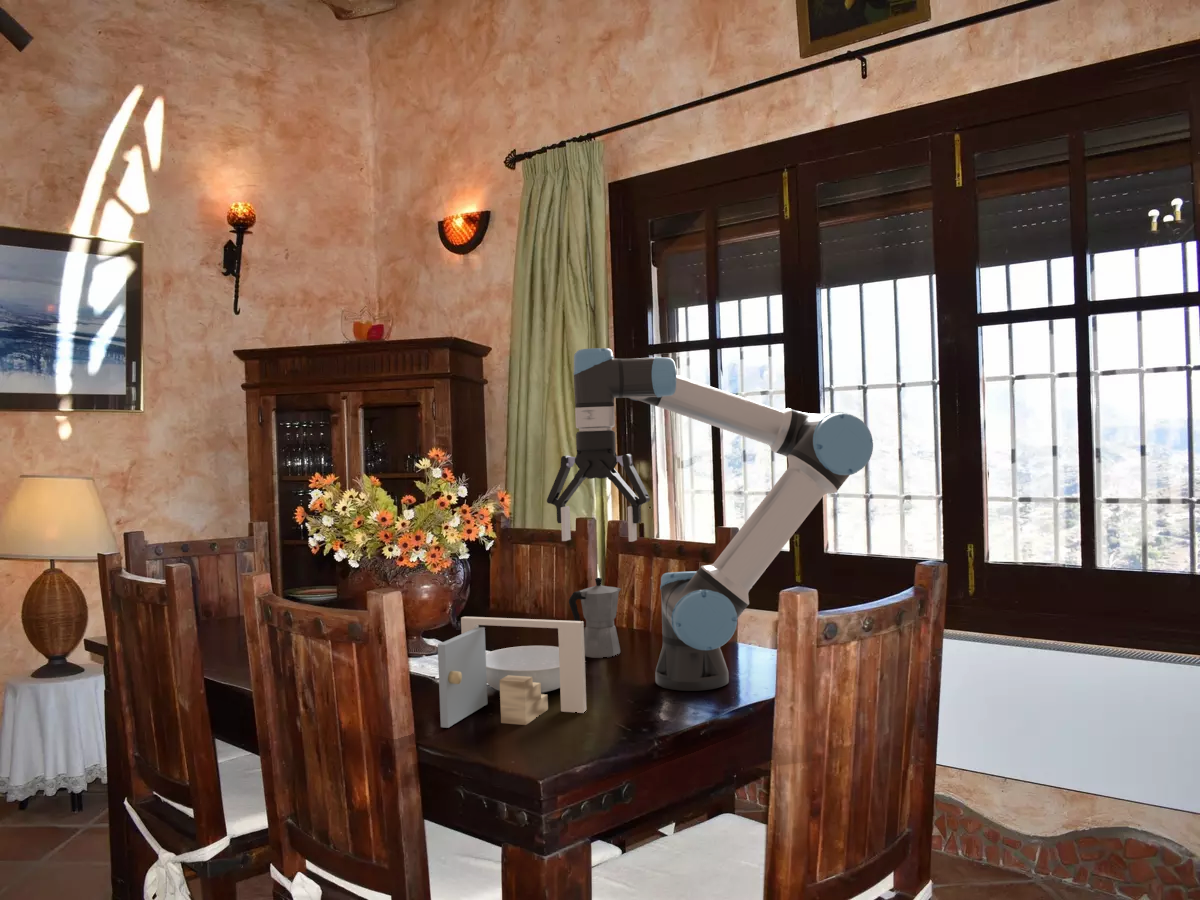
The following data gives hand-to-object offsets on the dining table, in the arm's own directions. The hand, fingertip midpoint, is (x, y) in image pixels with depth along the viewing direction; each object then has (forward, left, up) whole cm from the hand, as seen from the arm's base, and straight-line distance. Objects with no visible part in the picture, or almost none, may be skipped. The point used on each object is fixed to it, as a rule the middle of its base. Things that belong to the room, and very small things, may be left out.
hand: (599, 540), depth 187 cm
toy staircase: (+12, +10, -32) cm, 36 cm away
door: (+22, +13, -31) cm, 41 cm away
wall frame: (+15, +5, -32) cm, 35 cm away
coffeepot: (+16, -39, -32) cm, 53 cm away
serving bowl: (+19, -7, -32) cm, 38 cm away
